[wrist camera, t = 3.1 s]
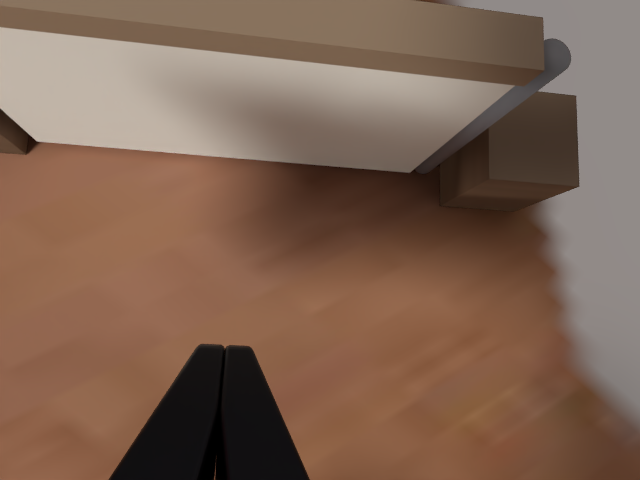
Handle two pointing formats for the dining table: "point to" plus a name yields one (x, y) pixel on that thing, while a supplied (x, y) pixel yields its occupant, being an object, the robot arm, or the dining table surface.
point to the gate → (270, 76)
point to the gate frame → (481, 156)
